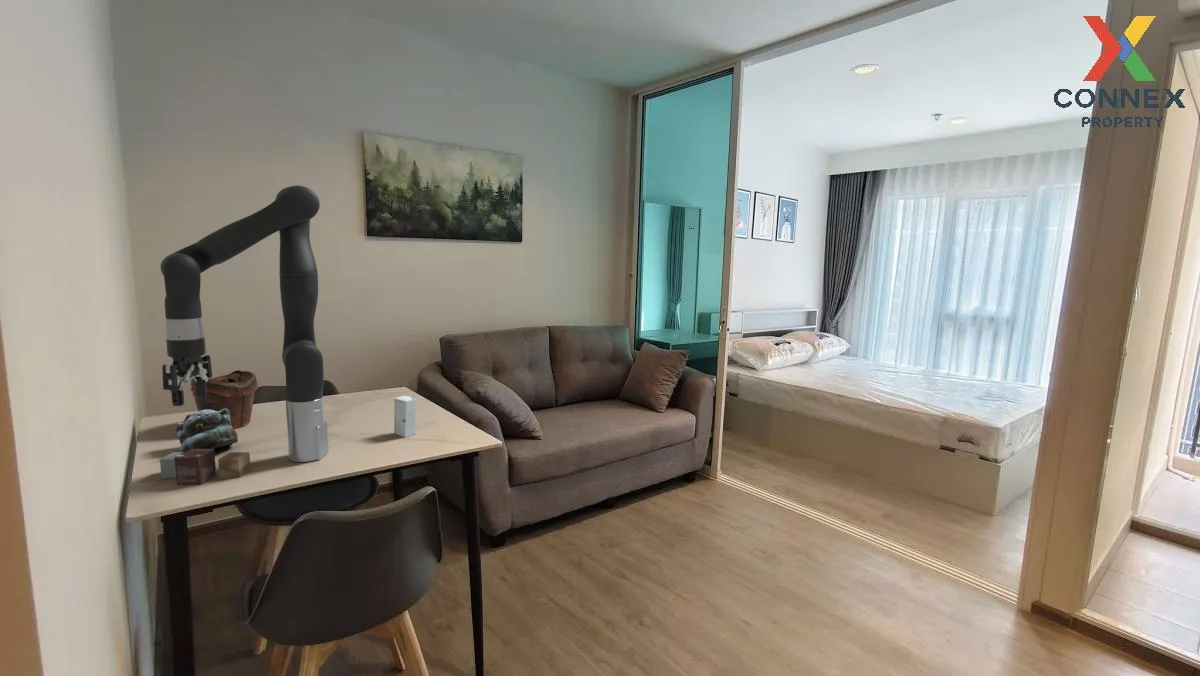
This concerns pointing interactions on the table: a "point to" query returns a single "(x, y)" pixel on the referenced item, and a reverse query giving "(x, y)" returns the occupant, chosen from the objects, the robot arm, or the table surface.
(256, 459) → the table surface
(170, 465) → the grey block
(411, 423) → the skincare box
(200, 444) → the grey-blue rounded figure
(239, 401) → the brown wooden container
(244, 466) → the walnut block
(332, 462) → the table surface
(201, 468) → the box
